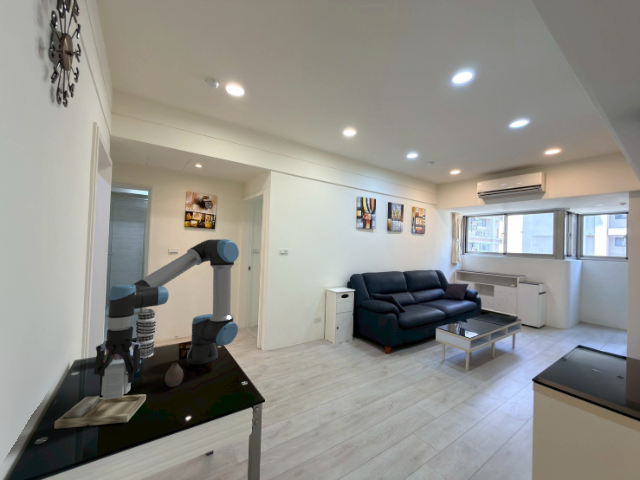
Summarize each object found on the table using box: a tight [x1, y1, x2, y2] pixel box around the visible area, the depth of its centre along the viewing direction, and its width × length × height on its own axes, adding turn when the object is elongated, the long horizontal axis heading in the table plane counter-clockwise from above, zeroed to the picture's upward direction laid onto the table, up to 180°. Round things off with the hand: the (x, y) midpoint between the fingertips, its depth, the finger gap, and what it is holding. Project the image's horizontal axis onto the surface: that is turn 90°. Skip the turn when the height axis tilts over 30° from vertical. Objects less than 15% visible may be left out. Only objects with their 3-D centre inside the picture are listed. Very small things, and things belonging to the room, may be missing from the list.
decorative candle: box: [135, 308, 157, 359], centre depth 140 cm, size 9×9×25 cm
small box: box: [102, 359, 127, 400], centre depth 92 cm, size 8×6×10 cm
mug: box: [103, 339, 123, 364], centre depth 132 cm, size 12×9×11 cm
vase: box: [164, 362, 184, 388], centre depth 111 cm, size 7×7×9 cm
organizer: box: [54, 393, 147, 429], centre depth 91 cm, size 21×13×4 cm, turn 101°
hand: (116, 392), depth 91 cm, fingers closed on small box, 6 cm apart
